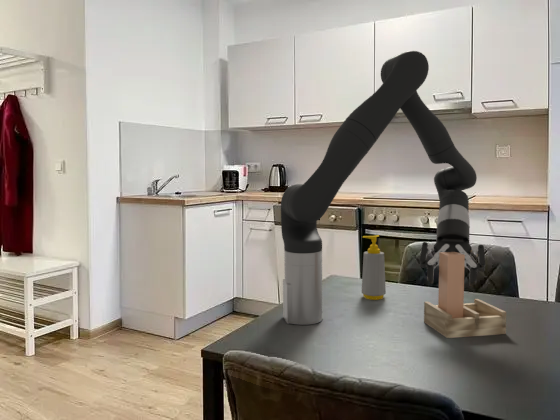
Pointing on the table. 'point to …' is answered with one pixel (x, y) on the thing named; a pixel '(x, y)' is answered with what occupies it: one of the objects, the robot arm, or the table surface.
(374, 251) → the soap bottle
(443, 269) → the clay bar
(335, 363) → the table surface
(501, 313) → the rack
